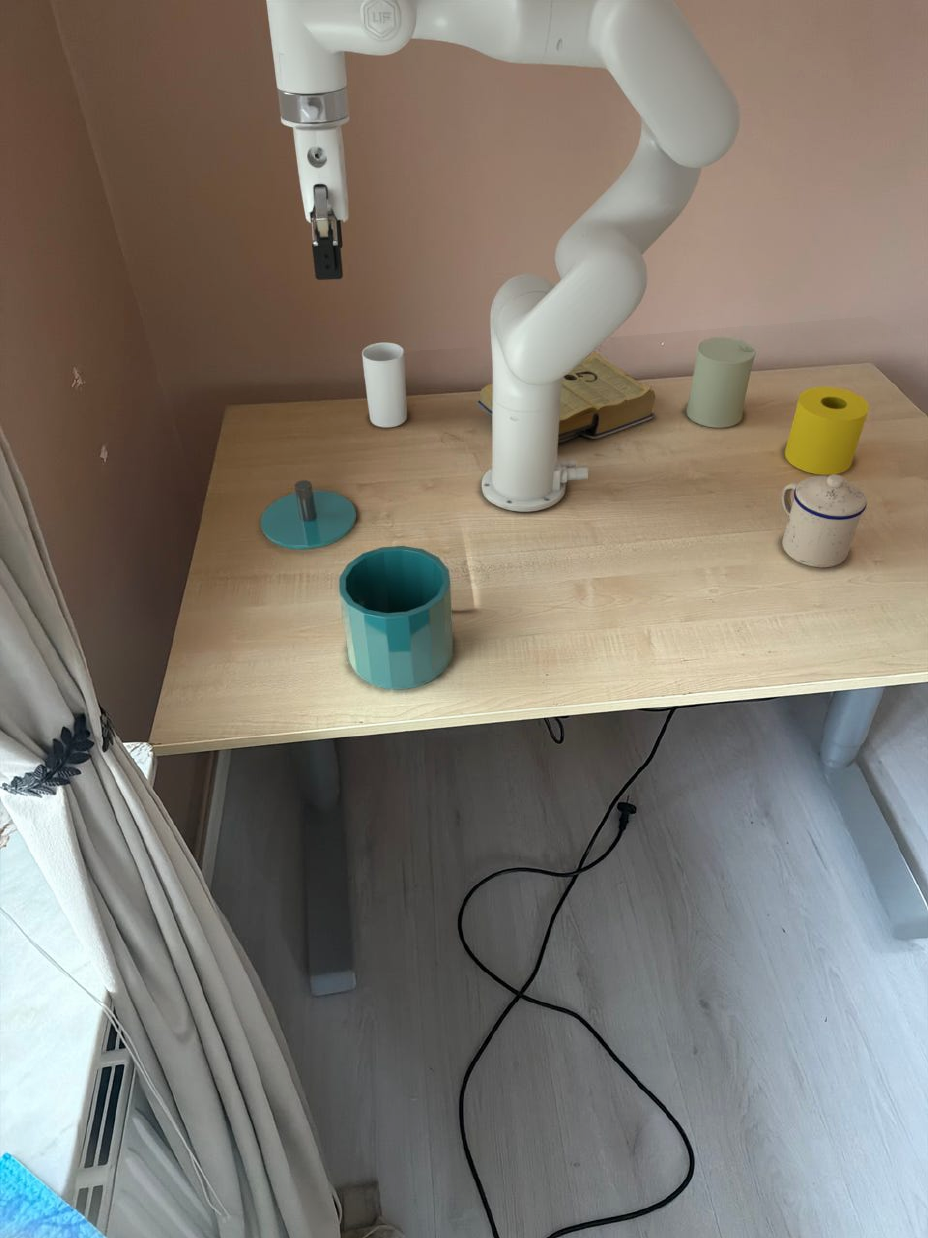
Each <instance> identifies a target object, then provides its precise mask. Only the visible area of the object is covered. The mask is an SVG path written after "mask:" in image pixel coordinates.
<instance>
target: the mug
mask: <svg viewBox="0 0 928 1238" xmlns="http://www.w3.org/2000/svg"><path fill="white" fill-rule="evenodd" d="M361 356H362V367H363V376H364V384H365V392H366V398H367V407H368V408H367V409H368V413H369V420H370V422H371V423H372V424H373V425H374V426H376V427H380V428H395V427H398V426H401V425H402V424H404V423H406V420H407V419H408V409H407V405H408V404H407V385H406V384H407V383H406V362H405V361H406V360H405V349H404V348H403V346H401V345H399V344H397V343H394V342H376V343H371V344H369V345H367V346H366V347H364V348H363V349H362V351H361Z"/></svg>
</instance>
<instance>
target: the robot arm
mask: <svg viewBox="0 0 928 1238" xmlns="http://www.w3.org/2000/svg"><path fill="white" fill-rule="evenodd" d="M265 1H266V10H267V17H268V24H269V25H268V26H269V34H270V42H271V43H270V44H271V49H272V58H273V64H274V65H273V66H274V73H275V82H276V91H277V98H278V107H279V115H280V122H281V124H283V126H286V127H290V128H292V133H293V141H294V148H295V157H296V165H297V173H298V174H297V175H298V180H299V186H300V193H301V198H302V199H301V200H302V204H303V210H304V215H305V220H306V221H307V222H308V223H310V224H311V228H312V229H311V230H312V241H313V243H311V248H312V249H311V250H312V258H313V266H314V276H315V279H316V280H317V281H325V280H341V279H343V277H344V271H343V261H342V259H343V258H342V251H341V250H342V248H343V233H342V224H341V221H342V223H346V222H347V221H348V220H349V216H350V215H349V195H348V194H349V193H348V183H347V182H348V181H347V169H346V157H345V147H344V139H343V138H344V137H343V131H342V125H345V124H347V123H348V122H349V121H350V119H351V118H350V109H349V108H350V106H349V95H348V82H347V79H348V78H347V68H346V56H345V52H348V53H356V54H362V55H369V56H381V57H382V56H389V55H393V54H396V53H397V52H399V51H401V50H402V49H403V48H404V47H406V45H407V44H408V43H409V42H410V40H411V39H413V40H427V41H439V42H446V43H451V44H456V45H460V46H464V47H466V48H470V49H473V50H475V51H477V52H479V53H481V54H483V55H484V56H487V57H489V58H492V59H494V60H498V61H501V62H506V63H511V64H521V65H522V64H525V65H526V64H527V65H553V66H573V67H580V68H595V69H597V68H598V69H605V70H607V71H608V72H609V73H610V75H611V76H612V77H613V79H614V80H615V82H616V83H617V85H618V86H619V87H620V89H621V91H622V92H623V94H624V95H625V96H626V98H627V99H628V101H629V103H630V104H631V105H632V106H633V108H634V109H635V111H636V112H637V114H638V115H639V116H640V124H641V127H640V137H639V140H638V144H637V147H636V149H635V152H634V154H633V157H632V159H631V161H630V162H629V164H627V166H626V168H625V169H624V170H623V172H622V173H620V175H619V176H618V178H617V179H616V180H615V181H614V182H613V183H612V184H611V185H610V187H609V188H607V190H606V191H605V192H604V193H603V194H602V195H601V196H599V198H597V200H596V201H594V203H592V205H591V206H590V207H588V209H587V210H586V211H585V212H583V214H582V215H581V216H580V217H578V218H577V220H575V222H574V223H572V225H571V226H570V227H568V228H567V229H566V231H565V232H564V233H563V234H562V236H561V237H560V238H559V240H558V242H557V244H556V248H555V250H554V251H555V252H554V262H555V267H556V271H557V273H558V275H559V278H560V280H559V281H558V282H557V284H555V285H553V283H552V282H551V281H549V280H548V279H546V278H544V277H543V276H541V275H538V274H535V273H521V274H518V275H514V276H513V277H511V278H509V279H508V280H506V281H505V282H504V283H503V284H502V285H501V286H500V287H499V289H498V290H497V291H496V293H495V295H494V297H493V300H492V302H491V303H492V304H491V308H490V314H489V315H490V316H489V317H490V318H489V323H490V324H489V325H490V327H489V329H490V340H491V343H490V344H491V360H492V383H493V413H492V416H491V417H492V419H491V420H492V424H491V425H492V426H491V427H492V431H491V432H492V435H491V436H492V437H491V438H492V439H491V440H492V442H491V444H492V445H491V449H492V450H491V454H492V455H491V467H490V468H489V469H488V470H487V471H486V472H484V474H483V476H482V479H481V491H482V494H483V496H484V497H485V498H486V500H487V501H489V502H490V503H491V504H492V505H494V506H497V507H498V508H500V509H504V510H507V511H512V512H520V513H526V512H527V513H529V512H530V513H531V512H538V511H543V510H546V509H548V508H550V507H552V506H554V505H555V504H557V503H558V502H560V501H561V500H562V499H563V497H564V496H565V494H566V488H567V487H566V485H567V482H568V481H574V480H575V481H580V480H581V481H582V480H588V479H589V468H588V466H585V465H584V466H577V464H578V463H577V460H576V459H568V460H561V459H560V458H558V447H559V443H558V433H559V417H560V401H561V388H562V377H564V376H565V375H567V374H568V373H569V372H570V371H572V370H573V369H574V368H575V367H576V366H578V365H579V364H580V363H581V362H582V361H583V360H584V359H585V358H586V357H587V356H589V355H591V354H593V353H594V352H595V351H596V349H597V348H598V347H600V346H601V345H602V344H603V343H604V342H605V341H606V340H607V339H609V337H610V336H612V335H613V334H614V333H615V332H616V331H617V330H619V328H620V327H621V326H622V325H623V324H624V323H626V321H627V320H629V318H630V317H631V316H632V315H633V313H634V312H635V311H636V310H637V308H638V306H639V305H640V303H641V301H642V300H643V297H644V295H645V292H646V289H647V285H648V269H647V265H646V261H645V259H644V256H643V255H644V254H645V252H647V250H649V249H650V247H651V246H653V244H654V243H656V241H657V240H658V239H659V238H660V237H661V236H662V235H663V234H664V232H665V231H667V230H668V229H669V227H671V225H672V224H673V223H674V222H675V221H676V220H677V219H678V218H679V216H680V215H681V214H682V212H683V211H684V210H685V208H686V207H687V205H688V204H689V201H690V200H691V198H692V196H693V195H694V192H695V190H696V187H697V186H698V185H697V184H698V183H699V179H700V176H701V173H702V169H703V168H705V167H709V166H710V165H712V164H714V163H716V162H718V161H719V160H720V159H722V158H723V157H724V156H725V155H726V154H727V153H728V152H729V151H730V149H731V148H732V146H733V145H734V143H735V141H736V138H737V136H738V133H739V129H740V123H741V111H740V106H739V103H738V99H737V97H736V94H735V93H734V91H733V90H732V88H731V86H730V84H729V83H728V82H727V80H726V78H725V77H724V76H723V74H722V73H721V71H720V70H719V68H718V67H717V65H716V63H715V62H714V60H713V59H712V58H711V56H710V55H709V53H708V52H707V50H706V49H705V47H704V46H703V44H702V43H701V41H700V39H699V37H698V36H697V35H696V33H695V31H694V30H693V29H692V27H691V25H690V24H689V22H688V20H687V19H686V17H685V16H684V14H683V12H682V11H681V9H680V8H679V7H678V5H677V4H676V2H675V1H674V0H265Z"/></svg>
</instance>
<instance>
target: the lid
mask: <svg viewBox="0 0 928 1238" xmlns="http://www.w3.org/2000/svg"><path fill="white" fill-rule="evenodd" d="M294 491H295V492H293V493H290V494H287V495H284V496H281V497H280V498H279V499H276V500H275V501H273V502H272V503H271V504H270V505H268V506H267V508H266V509H265V510H264V512H263V513H262V515H261V518H260V528H261V531H262V533H263V535H264V536H265V538H266V539H268V541H270V542H271V543H273V544H275V545H277V546H280V547H283V548H285V549H286V548H287V549H293V550H310V549H317V548H322V547H326V546H328V545H331V544H333V543H336V542H338V541H339V540H341V539H342V538H344V537H346V535H348V533H350V531H351V530H352V529H353V527H354V526H355V525H356V520H357V512H356V508H355V506H354V504H353V503H352V502H351V500H349V499H348V498H347V497H345V496H343V495H341V494H339V493H336V492H333V491H328V490H322V489H321V490H319V489H313V484H312V482H311V481H310V480H306V479H302V480H298V481H297V482H295V484H294Z"/></svg>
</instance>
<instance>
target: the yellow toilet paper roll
mask: <svg viewBox="0 0 928 1238" xmlns="http://www.w3.org/2000/svg"><path fill="white" fill-rule="evenodd" d="M869 411H870V405H869V403H868V401H867V400H866V399H865V398H864V397H863V396H861V395H860V394H858V393H855V392H854V391H851V390H849V389H845V388H839V387H836V386H835V387H834V386H815V387H811V388H808V389H805V390H804V391H803V392H801V393H800V394H799V396H798V400H797V404H796V408H795V411H794V412H795V413H794V414H793V418H792V423H791V427H790V431H789V435H788V439H787V442H786V446H785V450H784V457H785V459H786V460H787V461H788V463H789V464H791V465H792V466H793V467H794V468H796V469H799V470H801V471H803V472H806V473H809V474H814V475H818V476H830V475H833V474H836V475H840V474H842V473H844V472H846V471H848V470H849V469H850V468H851V466H852V463H853V460H854V457H855V454H856V452H857V448H858V444H859V441H860V438H861V435H862V432H863V429H864V426H865V424H866V420H867V417H868V413H869Z"/></svg>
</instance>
